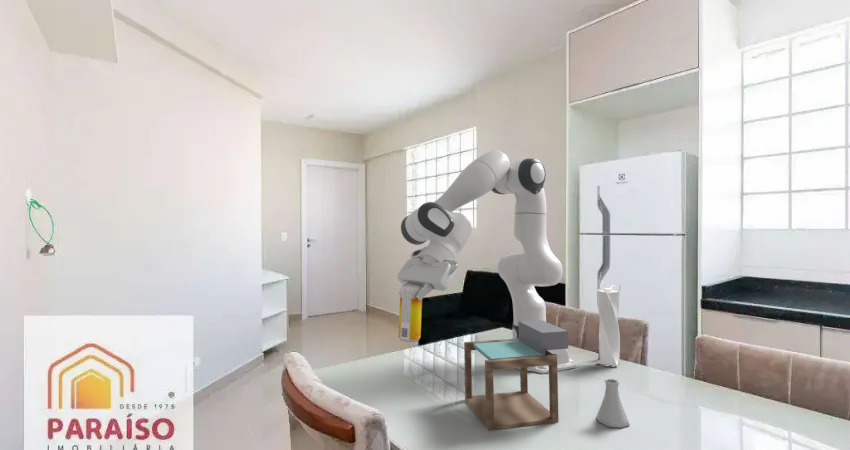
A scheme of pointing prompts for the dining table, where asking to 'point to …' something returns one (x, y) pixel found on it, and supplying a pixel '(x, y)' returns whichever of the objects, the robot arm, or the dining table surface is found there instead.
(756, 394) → the dining table surface
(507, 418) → the stand
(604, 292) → the skyscraper
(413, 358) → the dining table surface
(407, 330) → the beer can
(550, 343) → the trapdoor
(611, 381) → the flask
